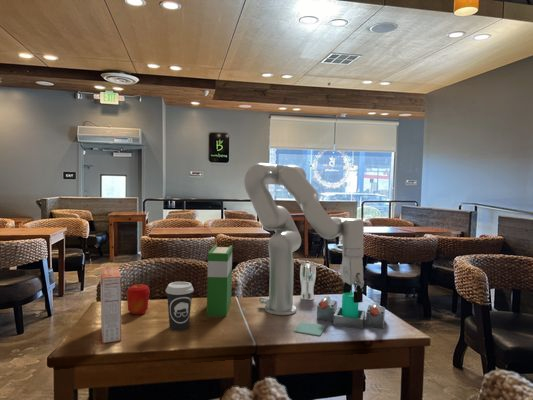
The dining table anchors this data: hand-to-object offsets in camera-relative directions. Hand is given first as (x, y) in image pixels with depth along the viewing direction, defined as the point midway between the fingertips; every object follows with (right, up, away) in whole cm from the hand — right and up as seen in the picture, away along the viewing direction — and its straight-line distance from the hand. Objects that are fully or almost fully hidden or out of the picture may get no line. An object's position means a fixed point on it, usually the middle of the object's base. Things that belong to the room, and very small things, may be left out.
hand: (352, 298), depth 142 cm
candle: (-1, -9, +1) cm, 9 cm away
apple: (-81, -7, +5) cm, 81 cm away
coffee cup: (-62, -8, -8) cm, 63 cm away
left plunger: (-10, -4, +2) cm, 11 cm away
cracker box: (-83, -8, -16) cm, 85 cm away
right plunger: (+7, -4, -4) cm, 9 cm away
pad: (-17, -9, -7) cm, 20 cm away
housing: (-1, -9, +2) cm, 9 cm away
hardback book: (-51, -7, +12) cm, 52 cm away
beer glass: (-14, -8, +29) cm, 33 cm away
